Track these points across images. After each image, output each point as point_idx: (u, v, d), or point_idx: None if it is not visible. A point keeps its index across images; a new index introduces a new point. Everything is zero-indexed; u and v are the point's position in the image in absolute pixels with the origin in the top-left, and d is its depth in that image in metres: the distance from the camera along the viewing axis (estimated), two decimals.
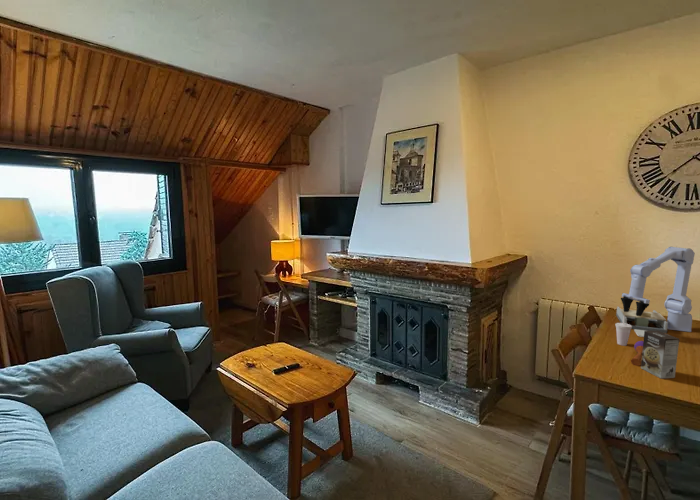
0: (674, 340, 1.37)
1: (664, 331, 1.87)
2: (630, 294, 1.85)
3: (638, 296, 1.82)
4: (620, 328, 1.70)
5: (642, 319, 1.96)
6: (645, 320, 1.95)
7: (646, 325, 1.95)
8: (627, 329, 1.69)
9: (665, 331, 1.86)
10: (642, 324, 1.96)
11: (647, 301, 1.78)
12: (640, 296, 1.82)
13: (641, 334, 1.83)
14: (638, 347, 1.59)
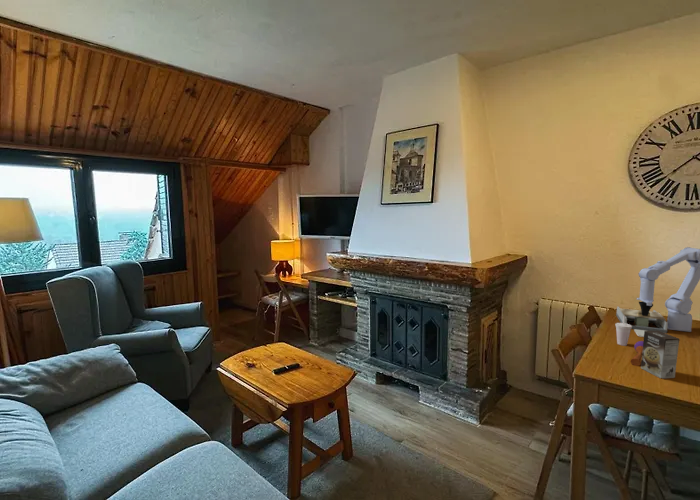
0: (674, 340, 1.37)
1: (664, 331, 1.87)
2: (639, 297, 1.93)
3: (645, 298, 1.90)
4: (620, 328, 1.70)
5: (642, 319, 1.96)
6: (645, 320, 1.95)
7: (646, 325, 1.95)
8: (627, 329, 1.69)
9: (665, 331, 1.86)
10: (642, 324, 1.96)
11: (649, 303, 1.85)
12: (647, 299, 1.89)
13: (641, 334, 1.83)
14: (638, 347, 1.59)
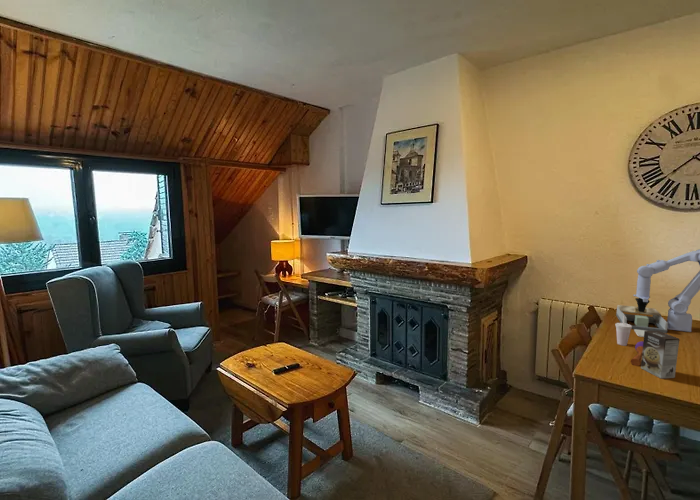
0: (674, 340, 1.37)
1: (664, 331, 1.87)
2: (636, 293, 2.00)
3: (641, 295, 1.96)
4: (620, 328, 1.70)
5: (642, 319, 1.96)
6: (645, 320, 1.95)
7: (646, 325, 1.95)
8: (627, 329, 1.69)
9: (665, 331, 1.86)
10: (642, 324, 1.96)
11: (645, 300, 1.92)
12: (643, 295, 1.96)
13: (641, 334, 1.83)
14: (639, 347, 1.59)
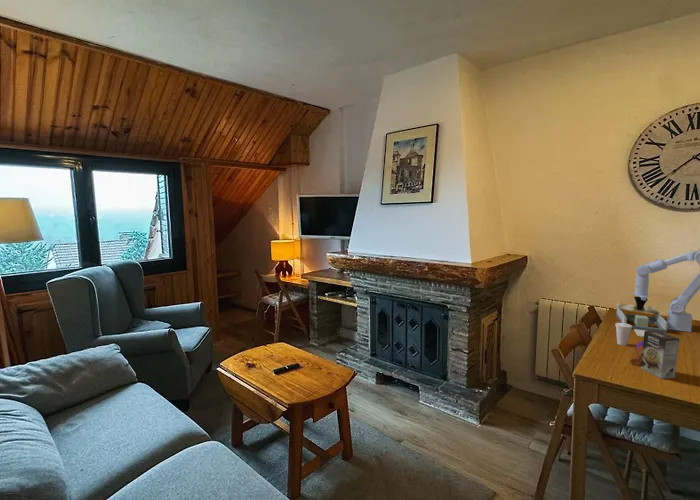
0: (674, 340, 1.37)
1: (664, 331, 1.87)
2: None
3: (640, 293, 2.00)
4: (620, 328, 1.70)
5: (642, 319, 1.96)
6: (645, 320, 1.95)
7: (646, 325, 1.95)
8: (627, 329, 1.69)
9: (665, 331, 1.86)
10: (642, 324, 1.96)
11: (643, 298, 1.96)
12: (642, 293, 1.99)
13: (641, 334, 1.83)
14: (639, 347, 1.59)
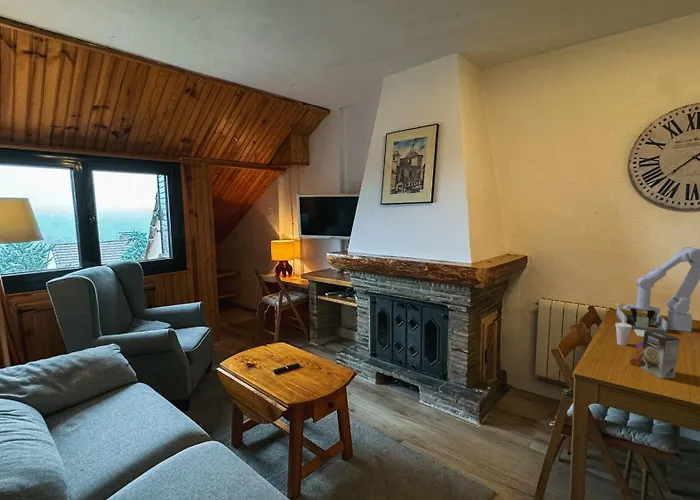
0: (674, 340, 1.37)
1: (664, 331, 1.87)
2: None
3: (636, 304, 1.99)
4: (620, 328, 1.70)
5: (642, 319, 1.96)
6: (645, 320, 1.95)
7: (646, 325, 1.95)
8: (627, 329, 1.69)
9: (665, 331, 1.86)
10: (642, 324, 1.96)
11: (626, 306, 2.01)
12: (636, 305, 1.98)
13: (641, 334, 1.83)
14: (639, 348, 1.59)
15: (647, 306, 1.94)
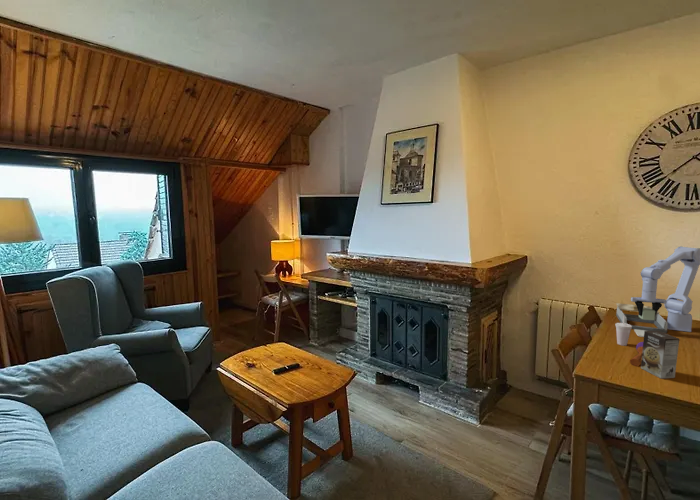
0: (674, 340, 1.37)
1: (664, 331, 1.87)
2: None
3: None
4: (620, 328, 1.70)
5: (648, 311, 1.86)
6: (651, 312, 1.86)
7: (652, 318, 1.86)
8: (627, 329, 1.69)
9: (665, 331, 1.86)
10: (648, 317, 1.86)
11: (631, 299, 1.90)
12: (642, 297, 1.88)
13: (641, 334, 1.83)
14: (639, 348, 1.59)
15: (654, 298, 1.84)
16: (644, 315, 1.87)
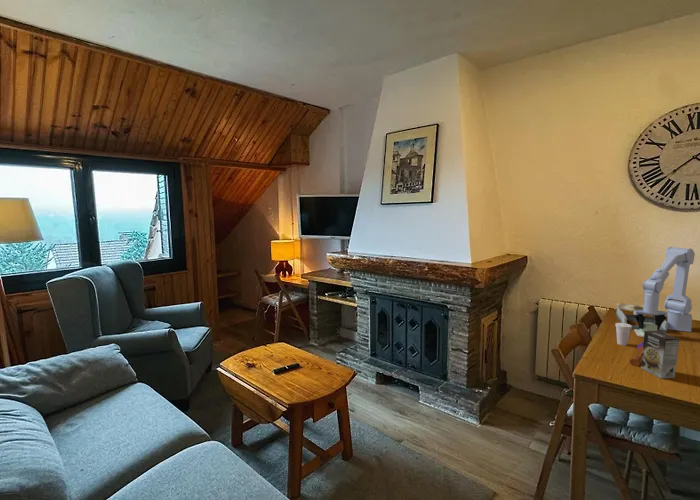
0: (674, 340, 1.37)
1: (664, 331, 1.87)
2: None
3: (643, 309, 1.84)
4: (620, 328, 1.70)
5: (651, 327, 1.82)
6: (654, 327, 1.82)
7: None
8: (627, 329, 1.69)
9: (665, 331, 1.86)
10: None
11: (634, 312, 1.84)
12: (644, 309, 1.83)
13: (641, 334, 1.83)
14: (640, 348, 1.58)
15: (657, 310, 1.80)
16: (647, 330, 1.82)
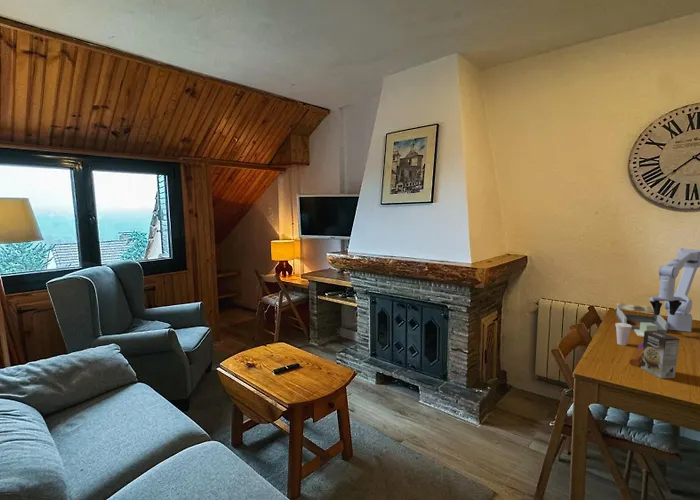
0: (674, 340, 1.37)
1: (664, 331, 1.87)
2: None
3: (659, 295, 1.85)
4: (620, 328, 1.70)
5: (651, 327, 1.82)
6: (654, 327, 1.82)
7: None
8: (627, 329, 1.69)
9: (665, 331, 1.86)
10: None
11: (651, 298, 1.85)
12: (660, 296, 1.84)
13: (641, 334, 1.83)
14: (641, 348, 1.58)
15: (673, 296, 1.81)
16: (647, 330, 1.82)
